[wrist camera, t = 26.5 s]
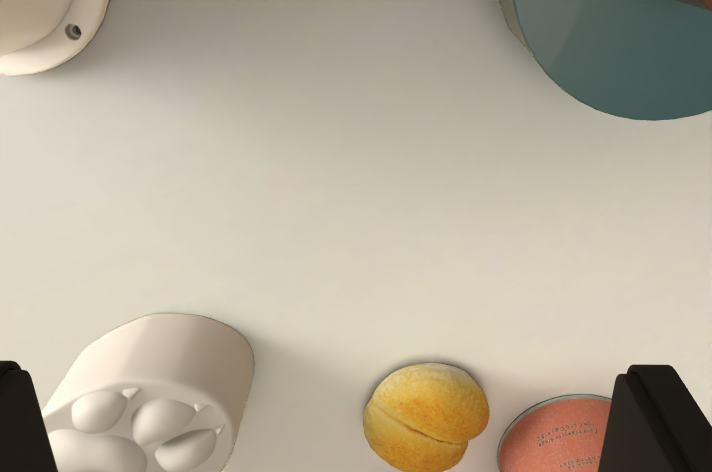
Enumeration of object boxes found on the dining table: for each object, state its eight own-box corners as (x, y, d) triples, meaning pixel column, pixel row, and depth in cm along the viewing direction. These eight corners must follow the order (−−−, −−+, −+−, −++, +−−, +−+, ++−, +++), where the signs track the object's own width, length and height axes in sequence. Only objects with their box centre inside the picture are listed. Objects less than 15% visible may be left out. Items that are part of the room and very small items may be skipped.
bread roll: (505, 383, 48) (515, 422, 44) (440, 464, 51) (445, 506, 48) (405, 337, 46) (407, 373, 43) (345, 424, 50) (343, 464, 46)
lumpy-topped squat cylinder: (56, 358, 48) (-6, 445, 40) (203, 284, 45) (167, 363, 37) (144, 454, 52) (103, 550, 44) (285, 392, 49) (267, 484, 41)
